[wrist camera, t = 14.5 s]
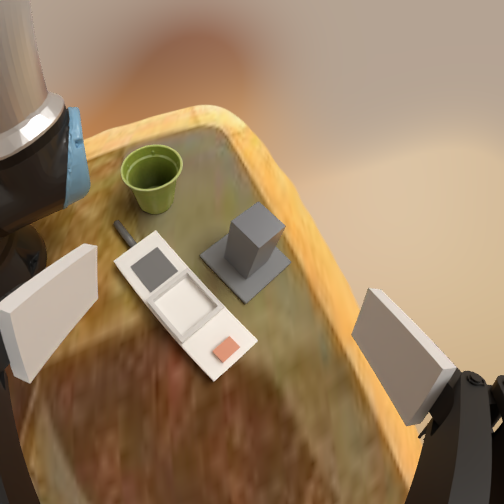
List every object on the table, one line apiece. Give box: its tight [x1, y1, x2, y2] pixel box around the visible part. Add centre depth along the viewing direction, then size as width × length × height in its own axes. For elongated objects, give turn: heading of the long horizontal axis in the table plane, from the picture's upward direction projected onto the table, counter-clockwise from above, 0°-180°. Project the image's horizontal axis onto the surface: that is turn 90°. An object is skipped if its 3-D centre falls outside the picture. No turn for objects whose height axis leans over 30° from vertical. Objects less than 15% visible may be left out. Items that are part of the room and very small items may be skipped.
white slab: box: [113, 220, 258, 382], centre depth 39 cm, size 28×8×3 cm, turn 45°
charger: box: [224, 201, 286, 280], centre depth 40 cm, size 5×5×10 cm
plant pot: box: [121, 145, 183, 214], centre depth 43 cm, size 9×9×9 cm
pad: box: [200, 233, 291, 304], centre depth 45 cm, size 10×10×1 cm
